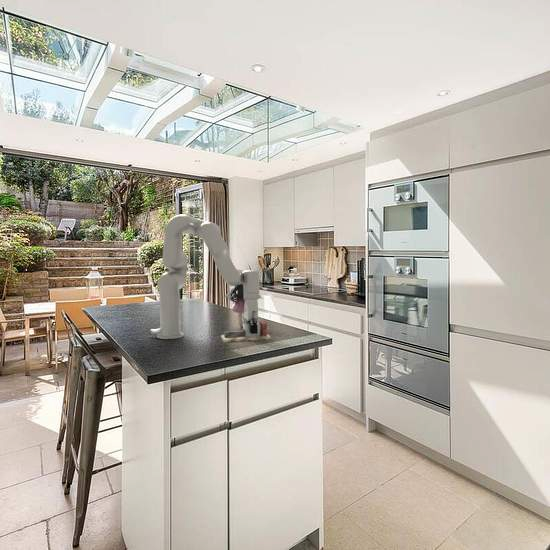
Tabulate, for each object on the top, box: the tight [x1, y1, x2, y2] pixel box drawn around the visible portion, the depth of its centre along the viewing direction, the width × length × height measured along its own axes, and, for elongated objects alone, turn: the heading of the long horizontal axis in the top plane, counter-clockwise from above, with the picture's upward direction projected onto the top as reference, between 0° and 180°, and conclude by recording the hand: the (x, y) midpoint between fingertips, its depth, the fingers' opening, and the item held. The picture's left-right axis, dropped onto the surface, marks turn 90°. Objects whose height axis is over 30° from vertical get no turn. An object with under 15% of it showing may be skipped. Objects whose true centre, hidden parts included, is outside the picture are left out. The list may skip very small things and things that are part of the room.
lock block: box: [242, 321, 260, 337], centre depth 176 cm, size 7×6×6 cm
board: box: [220, 320, 272, 343], centre depth 175 cm, size 22×10×7 cm, turn 107°
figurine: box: [223, 284, 264, 329], centre depth 199 cm, size 22×10×30 cm, turn 84°
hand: (251, 331), depth 176 cm, fingers open, 9 cm apart
